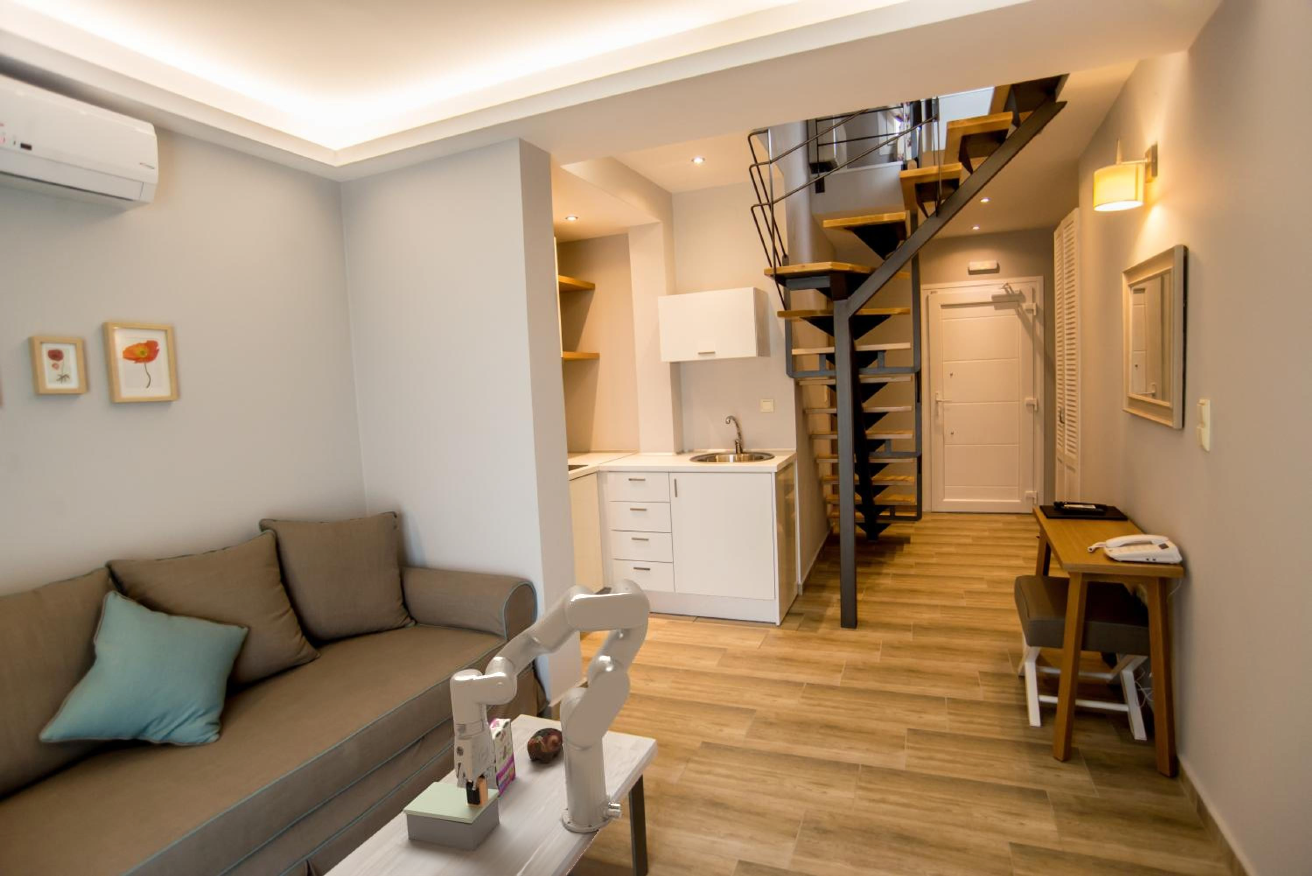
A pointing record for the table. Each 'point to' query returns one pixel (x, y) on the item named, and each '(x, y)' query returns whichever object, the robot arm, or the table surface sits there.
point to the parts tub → (454, 829)
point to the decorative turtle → (545, 744)
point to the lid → (450, 802)
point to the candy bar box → (501, 756)
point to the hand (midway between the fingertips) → (477, 799)
